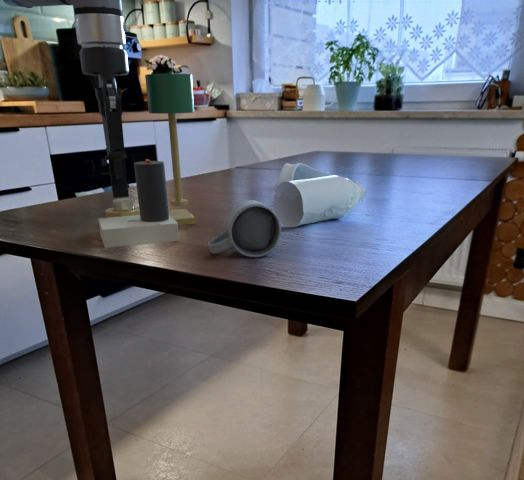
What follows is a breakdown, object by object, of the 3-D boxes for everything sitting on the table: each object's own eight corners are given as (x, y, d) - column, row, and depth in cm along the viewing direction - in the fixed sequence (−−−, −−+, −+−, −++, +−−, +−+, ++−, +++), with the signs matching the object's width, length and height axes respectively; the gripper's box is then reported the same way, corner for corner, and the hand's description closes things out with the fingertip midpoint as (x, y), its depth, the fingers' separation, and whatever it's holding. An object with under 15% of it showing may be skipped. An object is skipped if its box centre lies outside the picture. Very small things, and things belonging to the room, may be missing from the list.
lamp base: (109, 231, 92) (107, 214, 91) (105, 221, 100) (103, 205, 99) (195, 224, 97) (194, 207, 96) (185, 214, 105) (184, 199, 103)
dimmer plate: (104, 248, 82) (101, 228, 81) (100, 235, 90) (97, 217, 88) (188, 240, 86) (186, 221, 85) (177, 228, 94) (176, 211, 92)
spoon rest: (291, 183, 141) (291, 155, 137) (333, 185, 137) (334, 156, 134) (261, 198, 121) (260, 165, 117) (309, 200, 117) (310, 167, 114)
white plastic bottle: (373, 217, 101) (376, 174, 97) (300, 231, 91) (301, 184, 87) (343, 210, 107) (346, 170, 103) (272, 223, 96) (272, 179, 93)
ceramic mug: (272, 242, 84) (271, 193, 80) (282, 256, 77) (281, 203, 73) (206, 247, 82) (203, 197, 79) (210, 261, 75) (206, 207, 72)
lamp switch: (114, 214, 94) (113, 202, 93) (113, 210, 97) (111, 199, 96) (135, 212, 95) (133, 201, 94) (132, 208, 98) (131, 197, 97)
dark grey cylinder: (171, 220, 86) (166, 161, 82) (142, 222, 85) (135, 162, 80) (166, 214, 90) (161, 158, 86) (138, 217, 89) (131, 159, 85)
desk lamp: (162, 209, 94) (148, 73, 85) (155, 202, 101) (142, 75, 91) (204, 206, 97) (196, 73, 87) (195, 199, 104) (186, 75, 94)
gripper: (131, 45, 80) (146, 201, 90) (122, 51, 91) (137, 189, 101) (80, 43, 77) (102, 204, 88) (77, 50, 88) (97, 192, 99)
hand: (120, 196), depth 94 cm, fingers closed
